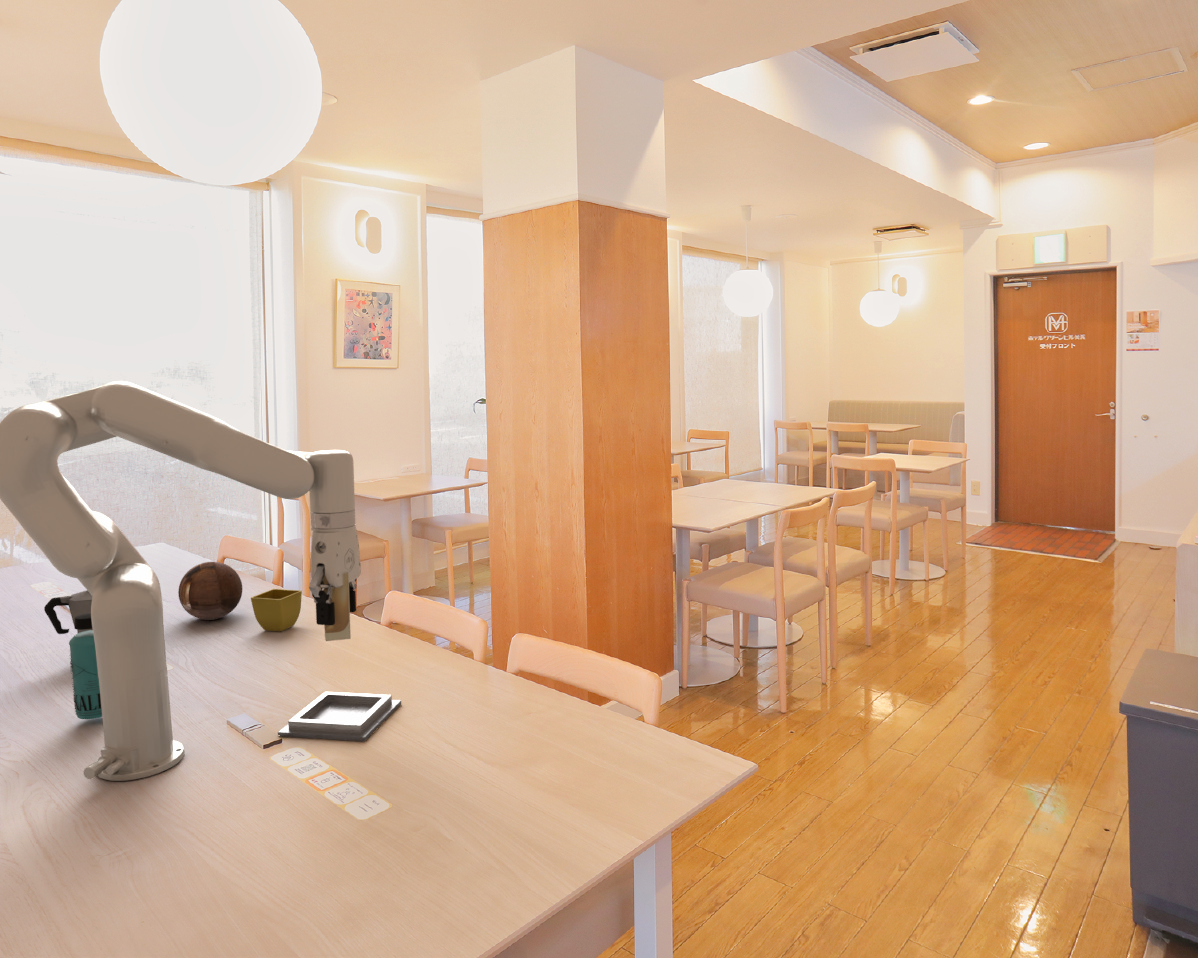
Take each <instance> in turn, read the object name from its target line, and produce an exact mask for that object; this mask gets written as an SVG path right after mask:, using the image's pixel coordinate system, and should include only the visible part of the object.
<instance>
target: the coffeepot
mask: <svg viewBox="0 0 1198 958" xmlns="http://www.w3.org/2000/svg"><path fill="white" fill-rule="evenodd" d="M92 598H93V596H92V595H91V594H90V593H89V592H88V590H87V589H85V590H83V591H80V592H77V593H73V594H71V595H64V596H57V597H52V598H51V599H49V601H48V602H46V604H45V606H44V607H43V608H44V609H43V611H44V613H45V614H46V616H47V618H48V619H49V621H50V623H51V624H52V626H53V628H54V630H55V632H56V633H57V634H58V635H67V634H68V633H69V632H70V628H63V627H62V623H61V621H60V619H59V617H58V615H57V612H56V610H55V609H54V608H55V607H60V606H61V607H64V606H68V609H69V613H70V616H71V621H72V623H73V626H74V625H75V617H76V616H79V615H82V614H88V613H91V604H92ZM76 630H77V629H76ZM89 630H93V628H92V629H85V630H77V633H76V634H78V633H80V632H84V631H89Z"/></svg>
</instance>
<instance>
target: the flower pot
mask: <svg viewBox="0 0 1198 958" xmlns="http://www.w3.org/2000/svg"><path fill="white" fill-rule="evenodd" d="M302 593H303V592H302V590H297V589H282V588H272V589H269V590H267V591H265V592H264V591H263V592H261V593H259V594H257V595H253V596H251V597H250V601H251V607H252V610H253V615H254V617H255V620H256V622H257V624H259V626H260V627H261V628H262V629H263V630H264V631H266V632H270V631H271V632H279V633H280V632H283V631H286V630H287V629H289V628H293V627H294V626H295V624H296V623H297V620H298V619H299V616H300V613H301V609H302V608H301V607H302Z"/></svg>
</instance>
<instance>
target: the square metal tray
mask: <svg viewBox="0 0 1198 958" xmlns="http://www.w3.org/2000/svg"><path fill="white" fill-rule="evenodd" d="M392 697H393V696H392V694H381V693H380V694H379V693H377V694H374V693H362V692H361V693H360V692H359V693H358V692H357V693H355V692H342V691H341V692H338V691H324V692H323V693H321V694H320V695H319V696H318V697H316V699H314V700H313V701H311V702H310V703H309V704H307V706H305V707H304V708H303V709H301V710H300V711H299V712H297V713H296V714H295V715H294V716H293V717H292V718H290V719H289V720H288V721H287V724H286V725H284V727H282V728H281V729H280V730H279V731H277V736H278V735H280V736H282V737H281V738H283V737H284V738H297V739H298V738H299V739H313V740H315V739H316V740H327V741H328V740H332V741H347V742H362V743H365V742H366V741H367V740H368V739H369V738H370V737H371V736H372V735H373V734H374V733H375V732H376V731H377V730H378V729H379V728H380V727H381V726H382V725H383V724H384V723H385V722H386V721H387V719H389V717H390V716H391V715H392V714H394V712H395V711H396V710H397V709H398V708H399V707H400V706H401V705H402V699H393V698H392ZM384 721H385V722H384ZM383 722H384V723H383ZM382 723H383V724H382ZM381 724H382V725H381ZM379 726H380V727H379ZM378 727H379V728H378ZM377 728H378V729H377ZM376 729H377V730H376ZM375 730H376V731H375ZM374 731H375V732H374ZM373 732H374V733H373ZM371 734H372V735H371Z"/></svg>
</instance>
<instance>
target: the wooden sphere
mask: <svg viewBox="0 0 1198 958" xmlns="http://www.w3.org/2000/svg"><path fill="white" fill-rule="evenodd" d="M177 593H178V599H179V602H180V604H181V607H182V608H183V609H184V610H185V611H186V613H188V614H189V615H190V616H192V617H194V618H196V619H199V620H203V621H204V620H205V621H213V619H214V620H218V619H221V618H224V617H225V616H227V615H229V614H230V613H232V611H234V610H235V609H236V608H237V606H238V605H239V603H240V601H241V599H242V596H243V582H242V579H241V577H240V576H239V574H238V572H237V571H236V570H235V569H234V568H232V567H231V566H230V565H228V564H226V563H223V562H221V561H219V562H218V561H206V562H201V563H199V564H196V565H195V566H193V567H191V568H190V569H189V570H188V571H187V572H185V574H183V577H182V578H181V581H180V583H179V585H178V592H177Z"/></svg>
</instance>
